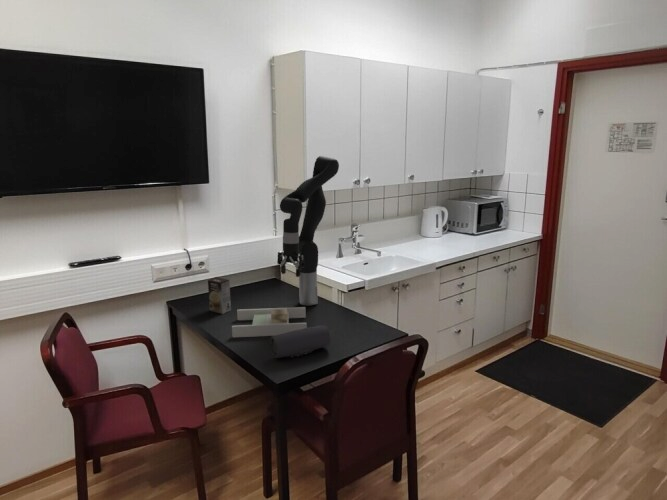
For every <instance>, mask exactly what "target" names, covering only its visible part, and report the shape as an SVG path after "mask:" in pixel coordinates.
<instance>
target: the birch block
mask: <svg viewBox="0 0 667 500" xmlns="http://www.w3.org/2000/svg"><path fill="white" fill-rule="evenodd" d="M271 322H272V323H283V322H287V309H277V310H272V312H271Z"/></svg>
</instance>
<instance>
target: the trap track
mask: <svg viewBox="0 0 667 500" xmlns="http://www.w3.org/2000/svg"><path fill="white" fill-rule="evenodd" d="M277 309H287V322H283V323H272V322H271V312H272V310H277ZM236 313H237V314H236V316H237V321H252V323H251V324H244V325H243V324H241V325H231V333H232V338H247V337H248V338H251V337H255V338H256V337H269V336H270V337H273V336H276V335H279V334H283V333H287V332H291V331H295V330H299V329H304V328H308V326H307V322H291V323H290V322H289V321H290V319H301V318H302V319H303V318H304V319H306V314H307V313H306V306H299V307H293V306H292V307H275V308H273V307H272V308H271V307H270V308H269V307H268V308H245V309H244V308H243V309H237V310H236Z"/></svg>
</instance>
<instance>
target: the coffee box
mask: <svg viewBox="0 0 667 500" xmlns="http://www.w3.org/2000/svg"><path fill="white" fill-rule="evenodd" d="M207 287H208V300H209V301H208V302H209V305H208V306H209V311H211V312H214V313H217V314H218V313H219V314H222V315H223V314H225V313H228V312H230V311H232V307H231V306H232V305H231V284H230V279H227V278H224V277H218V276H215V277H213V278H210V279H207Z"/></svg>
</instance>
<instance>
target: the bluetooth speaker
mask: <svg viewBox="0 0 667 500" xmlns="http://www.w3.org/2000/svg"><path fill="white" fill-rule="evenodd" d="M330 344H331V335H330V331H329V328H328V326H326V325H324V324H323V325H317V326H311V327H307V328H304V329H299V330H295V331H291V332H287V333H283V334H279V335H276V336H270V339H269V349H270V352H271V354H272V356H273V357H274V358H275V359H280V358H285V357H289V356H297V355H301V354H305V353H309V352H311V353H313V352H314V351H315V350H316V351H317V350H319V349H321V348H324V347H327V346H329V345H330ZM312 351H313V352H312ZM309 354H310V353H309ZM305 355H306V354H305ZM301 356H302V355H301ZM297 357H298V356H297Z"/></svg>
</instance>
